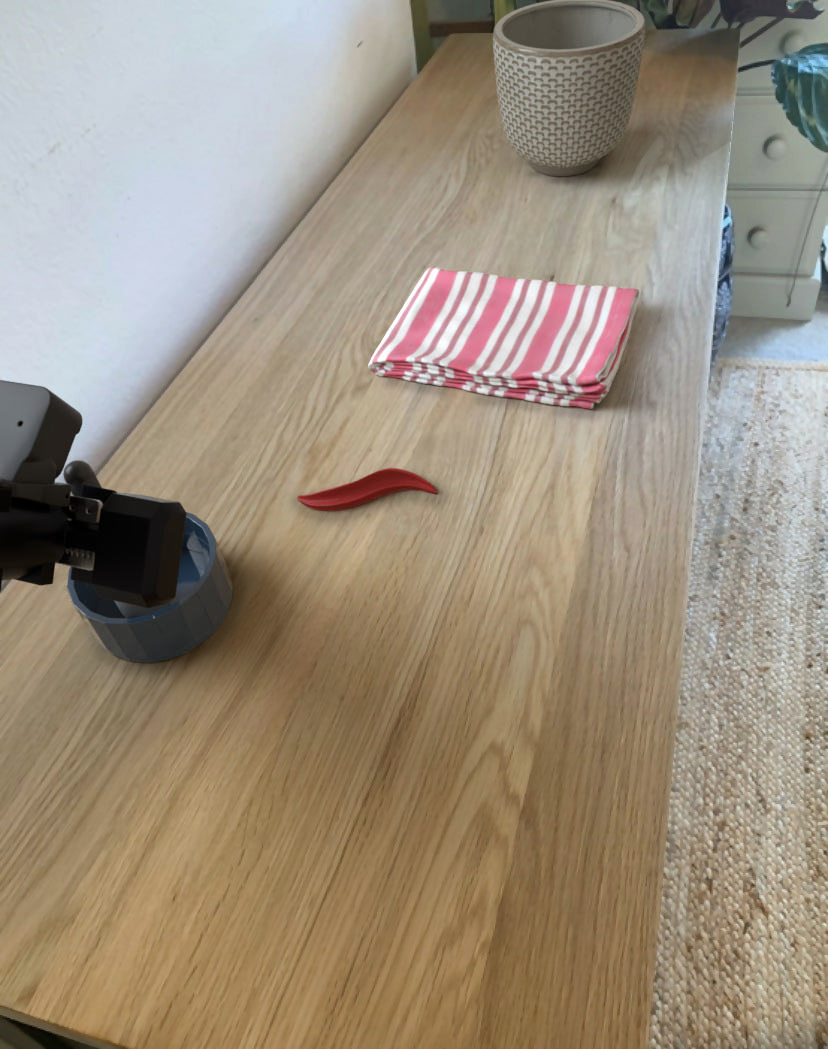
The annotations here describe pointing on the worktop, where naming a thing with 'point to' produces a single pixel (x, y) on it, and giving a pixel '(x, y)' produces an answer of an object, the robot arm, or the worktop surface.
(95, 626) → the bowl
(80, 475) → the joystick
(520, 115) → the planter
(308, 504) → the cayenne pepper
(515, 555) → the worktop surface
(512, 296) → the dish towel
